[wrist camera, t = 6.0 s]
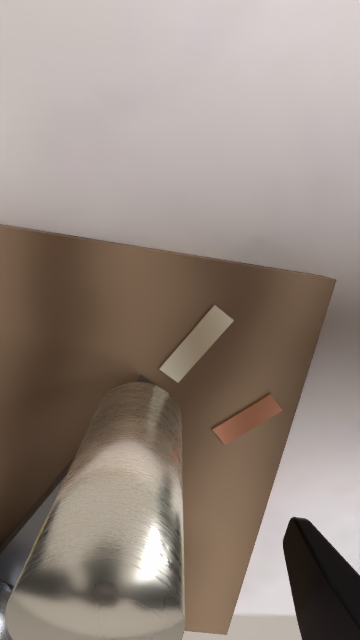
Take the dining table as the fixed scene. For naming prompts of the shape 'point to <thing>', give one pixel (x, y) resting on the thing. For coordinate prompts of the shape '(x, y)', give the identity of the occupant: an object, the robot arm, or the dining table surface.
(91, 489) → the lever
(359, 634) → the robot arm
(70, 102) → the dining table surface
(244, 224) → the dining table surface
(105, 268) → the board
